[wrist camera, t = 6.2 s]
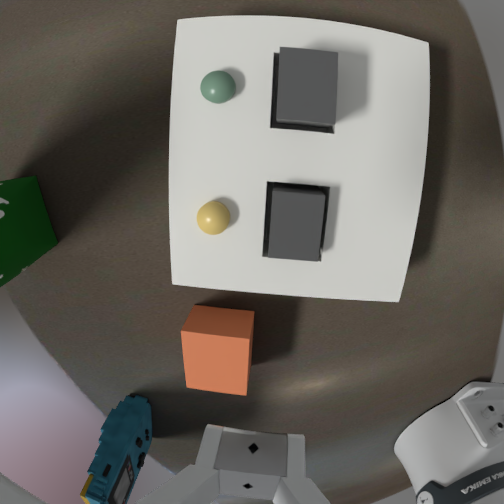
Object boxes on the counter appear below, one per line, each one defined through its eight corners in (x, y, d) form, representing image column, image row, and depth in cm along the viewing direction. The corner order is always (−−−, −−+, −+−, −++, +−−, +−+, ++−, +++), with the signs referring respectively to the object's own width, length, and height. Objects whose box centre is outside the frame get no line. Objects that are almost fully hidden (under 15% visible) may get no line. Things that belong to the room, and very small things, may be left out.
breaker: (326, 70, 17) (338, 52, 13) (324, 127, 19) (335, 124, 14) (280, 66, 17) (279, 46, 13) (277, 123, 19) (276, 118, 15)
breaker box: (407, 55, 17) (432, 40, 13) (383, 278, 24) (401, 306, 20) (194, 36, 19) (174, 16, 14) (188, 262, 25) (169, 288, 21)
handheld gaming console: (155, 440, 35) (121, 528, 21) (127, 431, 35) (88, 514, 21) (153, 398, 32) (106, 504, 18) (121, 387, 32) (66, 485, 18)
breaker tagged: (317, 184, 21) (325, 195, 17) (311, 238, 23) (317, 261, 18) (274, 181, 21) (272, 191, 17) (271, 235, 23) (267, 257, 19)
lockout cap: (254, 311, 26) (249, 339, 22) (251, 365, 28) (246, 395, 24) (194, 304, 26) (180, 330, 23) (197, 359, 29) (186, 387, 25)
